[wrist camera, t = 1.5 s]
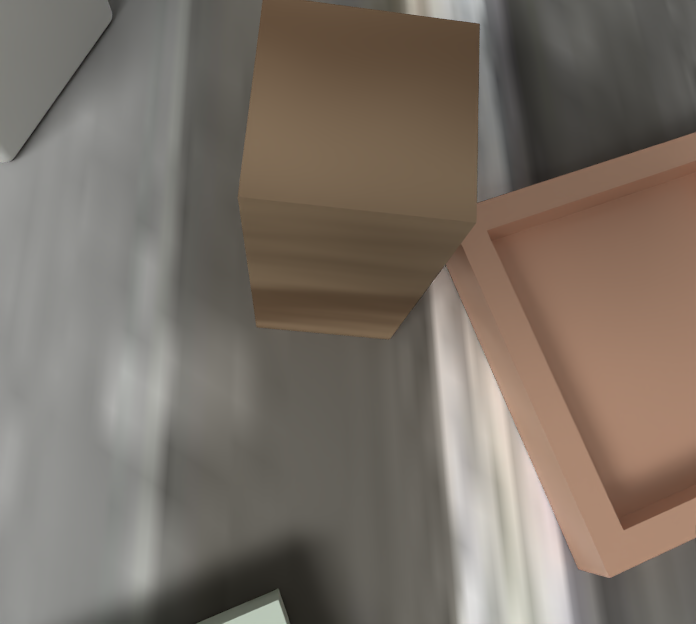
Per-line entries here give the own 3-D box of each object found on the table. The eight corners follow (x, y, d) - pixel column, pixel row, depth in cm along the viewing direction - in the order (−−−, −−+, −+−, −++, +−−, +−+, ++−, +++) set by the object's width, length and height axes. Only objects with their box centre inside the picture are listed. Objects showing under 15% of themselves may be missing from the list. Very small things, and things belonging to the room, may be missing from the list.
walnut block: (389, 339, 22) (476, 222, 12) (256, 327, 21) (237, 196, 12) (396, 217, 23) (479, 23, 13) (270, 204, 23) (263, -6, 13)
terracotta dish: (870, 434, 23) (925, 430, 21) (578, 569, 20) (609, 577, 18) (709, 144, 25) (744, 116, 23) (433, 235, 23) (447, 212, 21)
